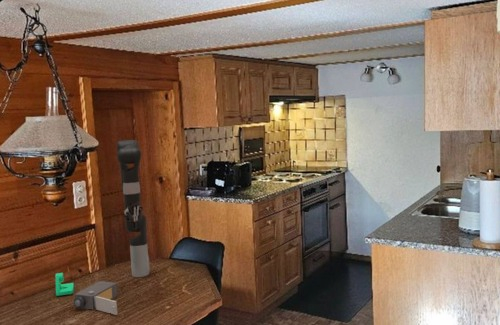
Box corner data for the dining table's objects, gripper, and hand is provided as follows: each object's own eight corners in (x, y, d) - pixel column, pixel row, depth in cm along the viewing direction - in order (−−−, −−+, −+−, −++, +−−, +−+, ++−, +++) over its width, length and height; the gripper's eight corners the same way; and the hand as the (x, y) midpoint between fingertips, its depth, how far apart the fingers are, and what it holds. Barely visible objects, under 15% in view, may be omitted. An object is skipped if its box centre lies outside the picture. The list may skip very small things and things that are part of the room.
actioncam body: (100, 293, 244) (99, 279, 244) (118, 295, 241) (117, 281, 240) (71, 310, 225) (70, 294, 225) (90, 312, 222) (88, 296, 221)
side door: (117, 314, 218) (116, 301, 217) (113, 316, 216) (112, 302, 215) (96, 308, 226) (95, 295, 225) (92, 310, 224) (91, 297, 223)
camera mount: (72, 295, 244) (71, 275, 243) (56, 298, 242) (54, 277, 241) (74, 287, 255) (72, 268, 254) (58, 289, 253) (56, 270, 252)
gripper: (133, 189, 233) (135, 225, 235) (116, 194, 221) (118, 232, 223) (146, 189, 231) (149, 226, 233) (130, 194, 219) (132, 233, 220)
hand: (134, 229), depth 228 cm, fingers closed
